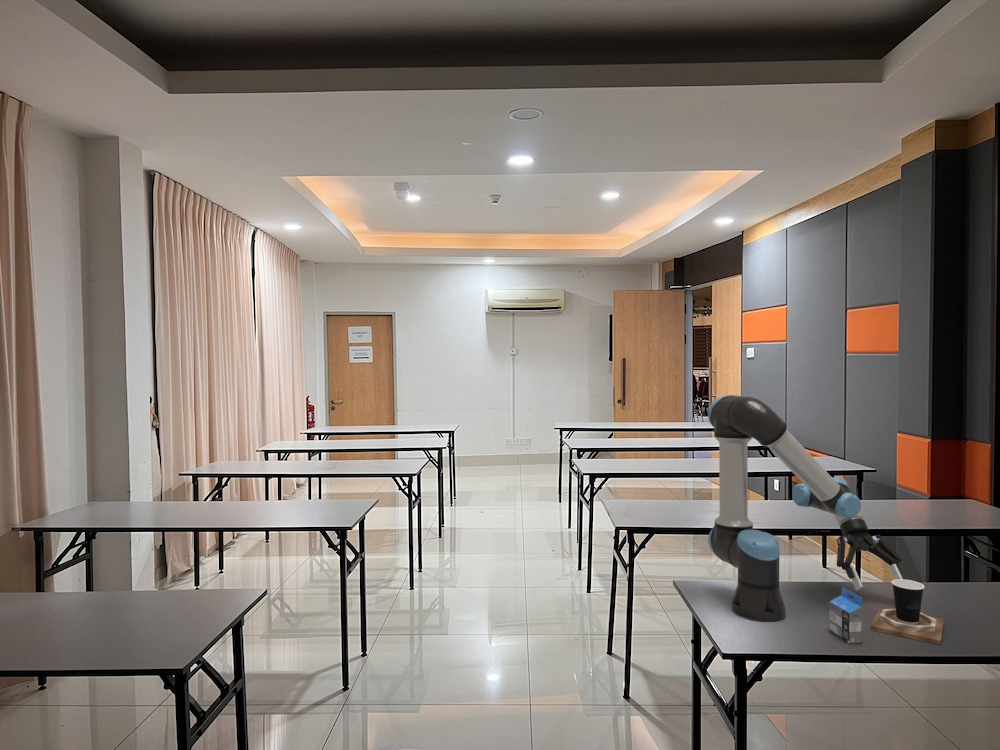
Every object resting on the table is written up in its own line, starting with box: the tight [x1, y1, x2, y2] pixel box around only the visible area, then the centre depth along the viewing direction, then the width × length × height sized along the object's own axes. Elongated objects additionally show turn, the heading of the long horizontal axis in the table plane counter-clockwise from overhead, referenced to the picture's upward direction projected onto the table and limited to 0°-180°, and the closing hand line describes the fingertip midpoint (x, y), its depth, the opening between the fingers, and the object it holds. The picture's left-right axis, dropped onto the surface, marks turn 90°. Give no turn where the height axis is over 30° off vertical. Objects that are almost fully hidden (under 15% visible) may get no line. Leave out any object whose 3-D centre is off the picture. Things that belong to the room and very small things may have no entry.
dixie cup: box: [891, 579, 925, 625], centre depth 181 cm, size 8×8×11 cm
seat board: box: [870, 606, 945, 645], centre depth 181 cm, size 16×18×3 cm
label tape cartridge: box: [829, 586, 863, 645], centre depth 175 cm, size 9×4×12 cm, turn 5°
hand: (880, 587), depth 193 cm, fingers open, 13 cm apart
